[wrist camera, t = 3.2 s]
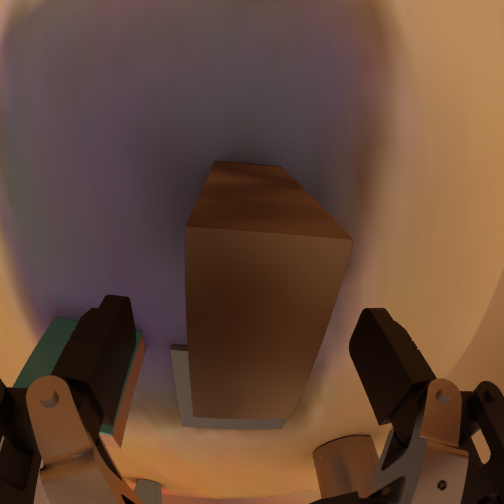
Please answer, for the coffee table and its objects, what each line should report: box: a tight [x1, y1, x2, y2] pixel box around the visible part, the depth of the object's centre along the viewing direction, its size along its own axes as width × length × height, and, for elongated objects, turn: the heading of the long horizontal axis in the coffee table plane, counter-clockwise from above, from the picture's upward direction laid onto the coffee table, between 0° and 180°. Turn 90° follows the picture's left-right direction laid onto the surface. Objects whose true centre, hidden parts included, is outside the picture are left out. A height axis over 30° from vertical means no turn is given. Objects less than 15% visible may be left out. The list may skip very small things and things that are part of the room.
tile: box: [12, 317, 146, 449], centre depth 17 cm, size 9×2×10 cm, turn 84°
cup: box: [134, 479, 162, 504], centre depth 38 cm, size 8×8×10 cm
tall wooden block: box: [185, 161, 353, 419], centre depth 13 cm, size 4×8×11 cm, turn 174°
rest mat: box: [171, 345, 286, 429], centre depth 26 cm, size 12×14×1 cm
